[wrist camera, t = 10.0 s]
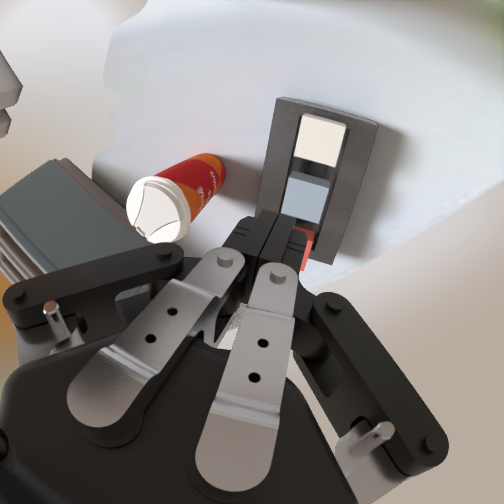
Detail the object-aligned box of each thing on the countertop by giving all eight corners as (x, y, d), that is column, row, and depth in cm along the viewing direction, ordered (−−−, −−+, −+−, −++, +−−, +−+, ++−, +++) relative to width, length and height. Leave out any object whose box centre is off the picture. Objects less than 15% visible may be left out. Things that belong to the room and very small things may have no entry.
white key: (307, 110, 32) (302, 115, 28) (345, 120, 31) (345, 127, 27) (300, 145, 34) (293, 155, 30) (336, 155, 34) (335, 167, 30)
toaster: (157, 307, 64) (108, 375, 48) (51, 215, 60) (-10, 261, 43) (193, 259, 53) (132, 342, 37) (65, 151, 49) (-16, 194, 32)
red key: (284, 212, 40) (276, 231, 36) (317, 222, 39) (312, 241, 35) (278, 240, 42) (269, 260, 38) (308, 249, 42) (303, 271, 38)
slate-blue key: (296, 164, 36) (288, 177, 32) (331, 174, 35) (329, 188, 31) (288, 196, 38) (280, 212, 34) (322, 205, 38) (318, 224, 34)
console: (282, 96, 34) (276, 98, 31) (374, 121, 33) (378, 125, 29) (257, 227, 46) (250, 240, 43) (333, 250, 44) (331, 265, 41)
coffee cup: (210, 207, 46) (161, 260, 34) (173, 171, 45) (113, 213, 33) (245, 172, 42) (200, 219, 30) (204, 133, 40) (143, 163, 28)
